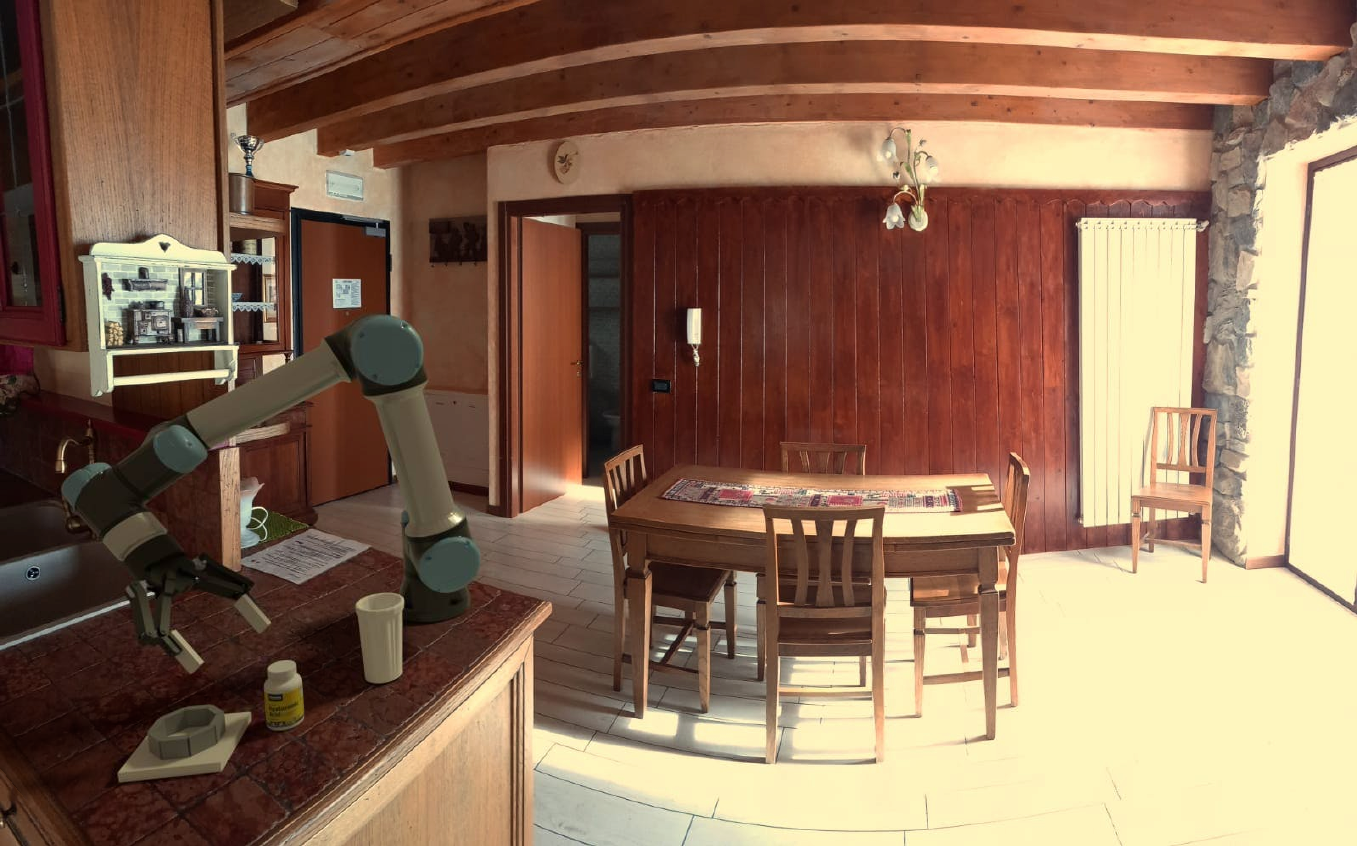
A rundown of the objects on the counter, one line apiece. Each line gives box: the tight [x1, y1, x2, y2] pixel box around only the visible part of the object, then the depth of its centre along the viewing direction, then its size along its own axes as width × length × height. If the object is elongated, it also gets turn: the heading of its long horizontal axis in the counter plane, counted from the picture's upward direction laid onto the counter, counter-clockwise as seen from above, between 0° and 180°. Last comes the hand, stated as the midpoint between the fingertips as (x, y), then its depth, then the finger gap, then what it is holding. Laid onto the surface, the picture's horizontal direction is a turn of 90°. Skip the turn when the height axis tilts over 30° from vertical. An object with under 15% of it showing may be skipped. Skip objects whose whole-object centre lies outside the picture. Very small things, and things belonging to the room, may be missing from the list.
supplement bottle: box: [263, 659, 305, 732], centre depth 119 cm, size 5×5×10 cm
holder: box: [117, 704, 252, 783], centre depth 112 cm, size 13×13×4 cm
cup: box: [355, 592, 404, 684], centre depth 133 cm, size 8×8×14 cm
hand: (233, 647), depth 119 cm, fingers open, 13 cm apart
